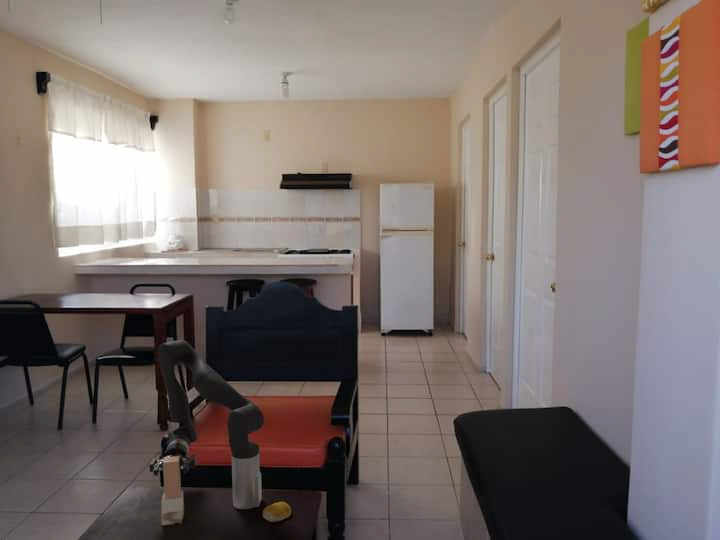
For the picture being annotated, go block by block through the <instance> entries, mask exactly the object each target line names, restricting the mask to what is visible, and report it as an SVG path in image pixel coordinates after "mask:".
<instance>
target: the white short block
mask: <svg viewBox="0 0 720 540" xmlns="http://www.w3.org/2000/svg"><path fill="white" fill-rule="evenodd" d="M162 494H163V495H162V497H161V501H160V502H161V513H167V512H176V511H182V507H183V503H185V502H184V490H181V494H180V498H176V499H166V500H165V496H164V493H162Z"/></svg>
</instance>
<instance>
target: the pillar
mask: <svg viewBox="0 0 720 540" xmlns="http://www.w3.org/2000/svg"><path fill="white" fill-rule="evenodd" d="M181 486H182V484H181V468H180V456H174V457H165V459H164V462H163V489H164V490H163V494H164V496H165V500H166V499H176V498H180V494H181V491H182V487H181Z"/></svg>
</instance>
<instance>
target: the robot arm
mask: <svg viewBox="0 0 720 540" xmlns="http://www.w3.org/2000/svg"><path fill="white" fill-rule="evenodd" d="M157 353H158V354H157V355H158V362H159V367H160V371H161V375H162V378H163V381H164V386H165V388H166V393H167V397H168V398H167V399H168V407H169V416H170V421H171V422H173V423H180V424H183V425H184V426H183V427H175V428H172V429H170V430H169V432H168V433H167V438H168V437H169V443H168V446H167V447H166V450H165V452H164V455H163V457H162V458H160V459H157V457H152V459H151V461H150V463H149V472H150V473H153V476H155V477H158V476H159V474H160V472H161V471H163V462H164V459H165V457H174V456H180V470H181V469H182V473H183V474H184V475H185V474H186V473H188V472H189V470H190V468H191V469H196V462H197V461H196V458H197V457H196V454H194V453H193V454H191V456H189V451H190V443H191V442H194V441H196V440H197V441H198V433H197V430H196V428H195V425H194V424H193V423H194V422H193V420H192V417H191V411H190V402H189V396H188V394H187V391H185V389H184V388H183V385H182V384H181V383H180V382H179V380H178V378H177V376H176V374H175V367H176V366H180V365H181V366H182V365H183V366H186V367H187V369H189V370H190V372H191V375H192V376H191V377H192V386H193V387H194V389H195V391H197V393H198V394H199V395H201V396H202V397H203V398H204V399H205V400H207V401H208V402H210V403H212V404H215V405H217V406H221V407H224V408H226V409H228V410H231V411H230V412H229V414H228V417H227V433H228V436H227V437H228V443H229V444H228V445H229V449H230V452H231V475H232V478H231V479H232V483H231V484H232V505H233V507H234V508H235V509H239V510H248V509H254V508H258V507H260V505H261V502H262V498H263V496H262V494H263V493H262V491H263V490H262V472H261V471H260V470H261V469H260V466H261V465H260V463H261V462H260V446H259V444H258V443H257V442H255V441H253V440H249V435H250V434H253V433H255V432H257V431H259V430H260V429H261V428H263V427H264V425H265V417H264V414H263V412H262V410H261V409H260V408H259V406H257V405H256V404H255V403H254V402H253V401H251V400H250V399H248V398H246V397H245V396H244V395H242V394H241V393H240V392H239V391H237V389H235V388H234V386H232V385H231V384H229V382H227V381H226V380H225V379H224V378H223V377H222V376H221V375H220V374H219V373H217V371H216V370H214V369H213V368H212V367H211V366H210V365H209V364H208V363H207V362H206V361H205V360H204V359H203V358H202V357H201V356H200V355H199V354H198V352H197V351H196V350H195V349H194V348H193V346H192V345H191V344H190V343H189V342H187V341H186V340H184V339H179V340H172V341H168V342H163V343H161V344H160V346H159V347H158V351H157ZM197 441H196V442H197Z"/></svg>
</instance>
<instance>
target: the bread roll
mask: <svg viewBox="0 0 720 540" xmlns="http://www.w3.org/2000/svg"><path fill="white" fill-rule="evenodd" d="M291 515H292V508H291V506H290V505H289V504H288V503H286V502H285V501H279V502H274V503H273V504H271V505H267V506H265V507H264V509H263V511H262V517H263V519H265V520H266V521H268V522H272V523H274V522H280V521H282V520H284V519H287V518H289V517H290V516H291Z"/></svg>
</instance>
